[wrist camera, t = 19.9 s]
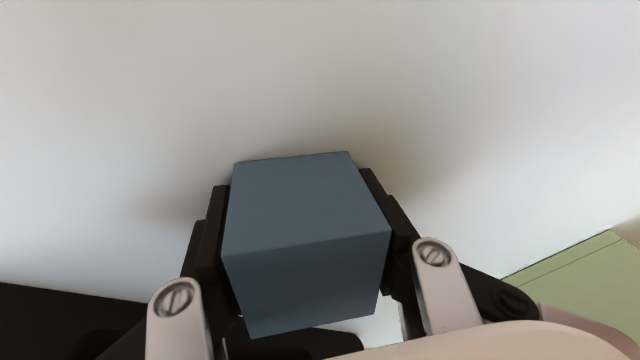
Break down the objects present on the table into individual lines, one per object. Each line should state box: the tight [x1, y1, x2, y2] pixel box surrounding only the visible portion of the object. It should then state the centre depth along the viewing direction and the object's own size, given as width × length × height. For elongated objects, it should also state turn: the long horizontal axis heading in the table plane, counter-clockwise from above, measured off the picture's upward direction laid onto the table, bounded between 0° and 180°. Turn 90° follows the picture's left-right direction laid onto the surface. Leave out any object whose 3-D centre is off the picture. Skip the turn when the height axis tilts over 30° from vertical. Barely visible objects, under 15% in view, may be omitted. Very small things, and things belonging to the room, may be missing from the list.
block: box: [221, 151, 392, 339], centre depth 10 cm, size 4×4×4 cm
